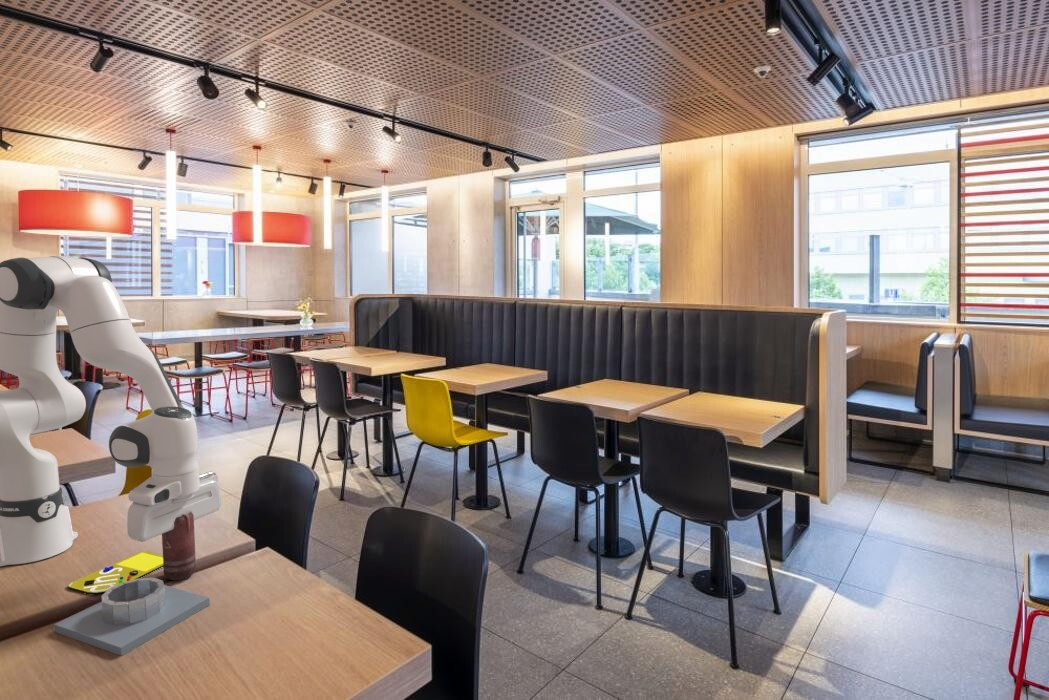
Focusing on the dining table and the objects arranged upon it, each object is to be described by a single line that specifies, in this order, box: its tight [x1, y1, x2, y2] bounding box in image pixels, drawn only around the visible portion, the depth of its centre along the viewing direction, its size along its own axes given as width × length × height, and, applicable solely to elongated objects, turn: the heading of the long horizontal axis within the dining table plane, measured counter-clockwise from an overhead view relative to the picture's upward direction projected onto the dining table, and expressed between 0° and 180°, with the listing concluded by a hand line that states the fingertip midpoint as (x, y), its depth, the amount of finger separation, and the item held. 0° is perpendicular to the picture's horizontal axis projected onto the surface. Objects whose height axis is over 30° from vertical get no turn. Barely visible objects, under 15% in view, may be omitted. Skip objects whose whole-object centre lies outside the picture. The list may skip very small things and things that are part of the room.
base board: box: [53, 584, 211, 657], centre depth 118 cm, size 18×18×2 cm
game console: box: [67, 550, 164, 596], centre depth 135 cm, size 18×11×2 cm, turn 161°
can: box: [161, 511, 197, 581], centre depth 133 cm, size 6×6×14 cm
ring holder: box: [100, 577, 166, 626], centre depth 118 cm, size 10×10×4 cm
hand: (179, 544), depth 133 cm, fingers closed, pressing on can
